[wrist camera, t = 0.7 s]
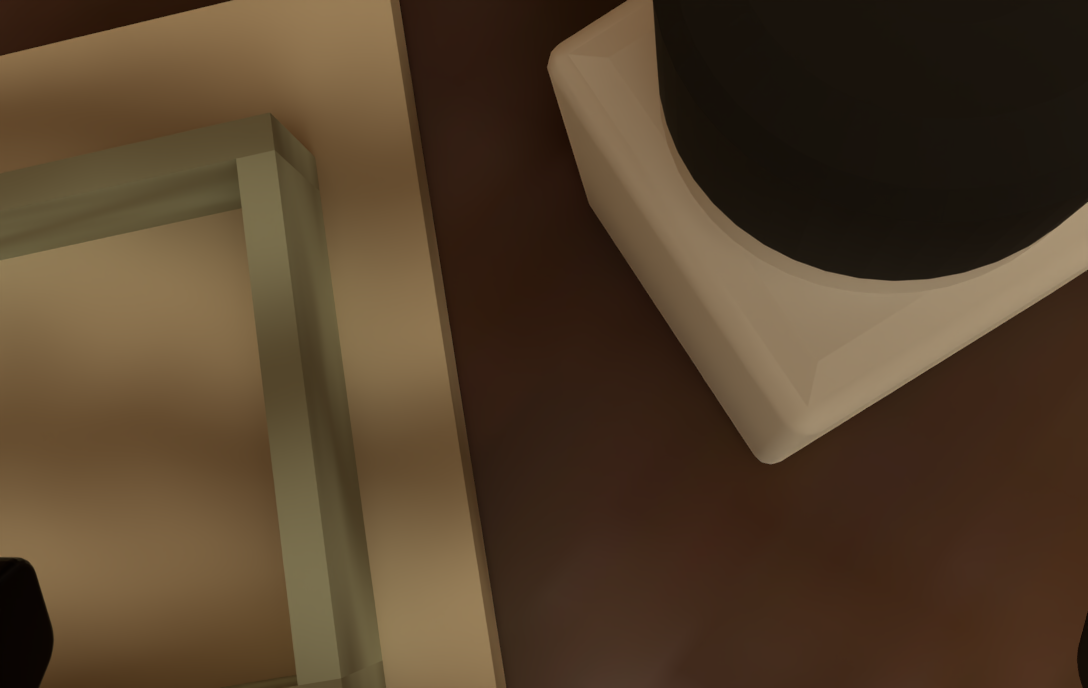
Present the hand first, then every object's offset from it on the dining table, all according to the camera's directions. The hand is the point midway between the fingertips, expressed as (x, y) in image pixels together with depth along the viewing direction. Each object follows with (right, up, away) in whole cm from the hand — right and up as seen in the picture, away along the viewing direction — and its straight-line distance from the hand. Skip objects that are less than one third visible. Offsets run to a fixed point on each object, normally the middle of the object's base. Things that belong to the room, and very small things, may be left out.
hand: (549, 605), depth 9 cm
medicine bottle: (+6, +4, +13) cm, 15 cm away
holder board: (-10, -1, +14) cm, 17 cm away
